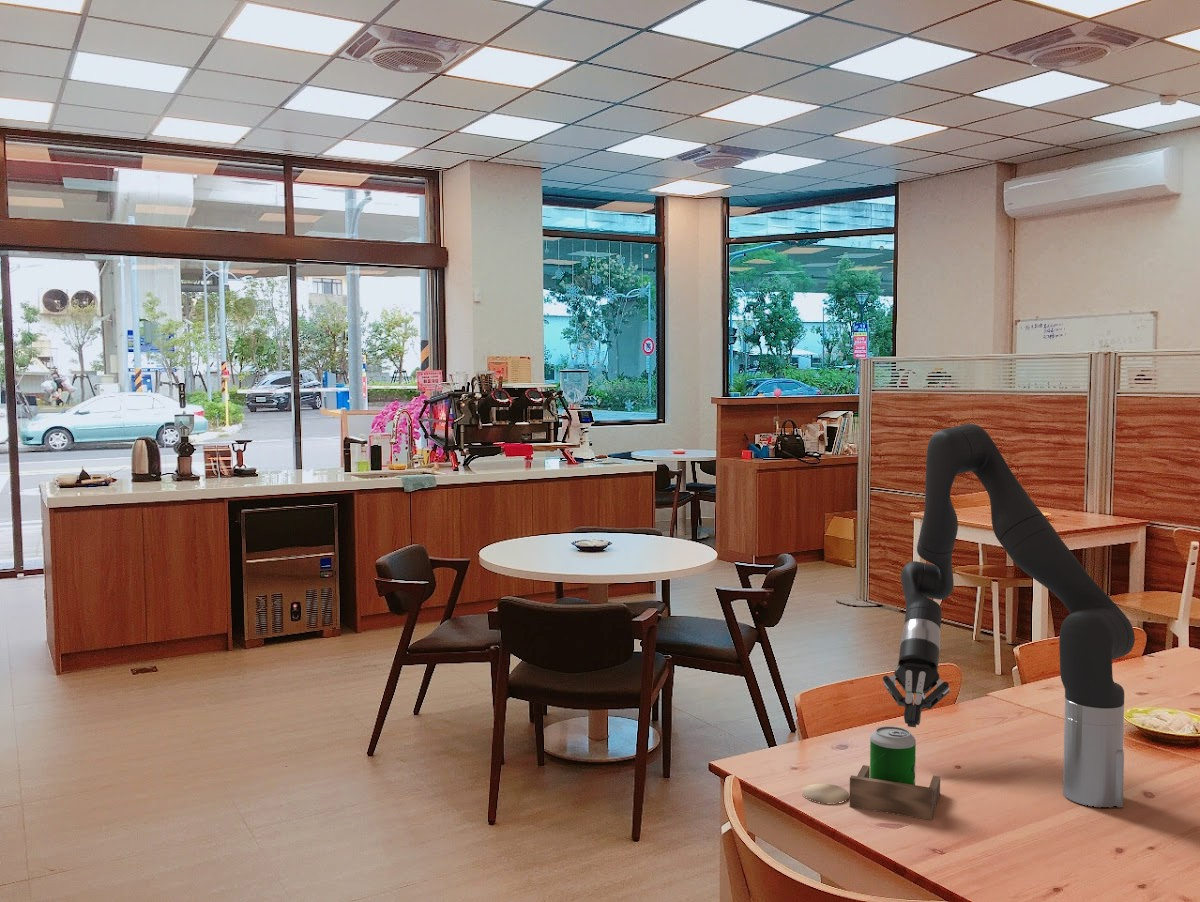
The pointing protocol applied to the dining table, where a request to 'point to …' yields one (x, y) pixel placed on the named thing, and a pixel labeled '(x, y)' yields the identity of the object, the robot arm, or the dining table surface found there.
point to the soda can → (892, 755)
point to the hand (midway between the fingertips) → (911, 725)
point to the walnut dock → (894, 795)
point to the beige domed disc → (825, 793)
